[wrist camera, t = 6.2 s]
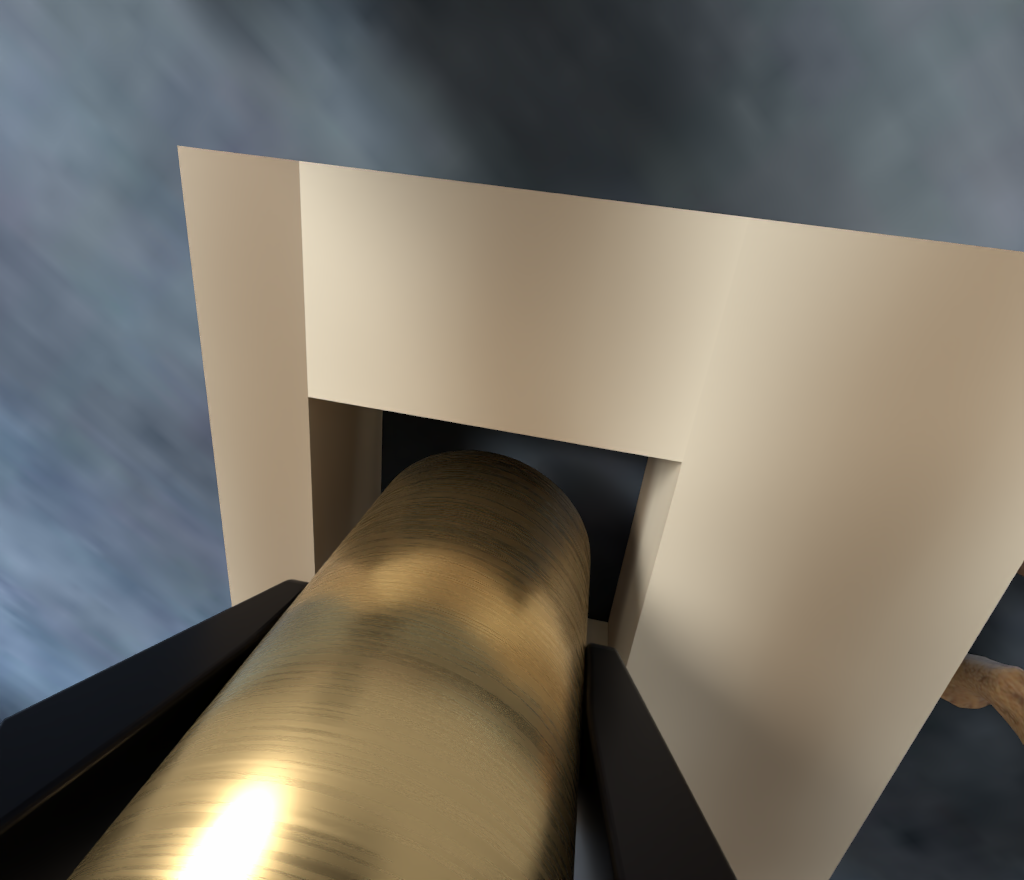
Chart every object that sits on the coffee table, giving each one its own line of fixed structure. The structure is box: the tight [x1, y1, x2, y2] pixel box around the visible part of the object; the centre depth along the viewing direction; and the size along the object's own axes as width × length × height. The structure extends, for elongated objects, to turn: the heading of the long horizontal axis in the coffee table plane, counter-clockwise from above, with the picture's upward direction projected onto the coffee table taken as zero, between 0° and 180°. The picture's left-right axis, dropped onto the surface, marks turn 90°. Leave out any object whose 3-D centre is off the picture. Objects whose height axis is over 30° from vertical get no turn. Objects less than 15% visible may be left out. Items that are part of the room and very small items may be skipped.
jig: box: [177, 146, 1024, 880], centre depth 10 cm, size 12×12×3 cm
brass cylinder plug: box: [67, 450, 591, 880], centre depth 6 cm, size 4×4×7 cm
